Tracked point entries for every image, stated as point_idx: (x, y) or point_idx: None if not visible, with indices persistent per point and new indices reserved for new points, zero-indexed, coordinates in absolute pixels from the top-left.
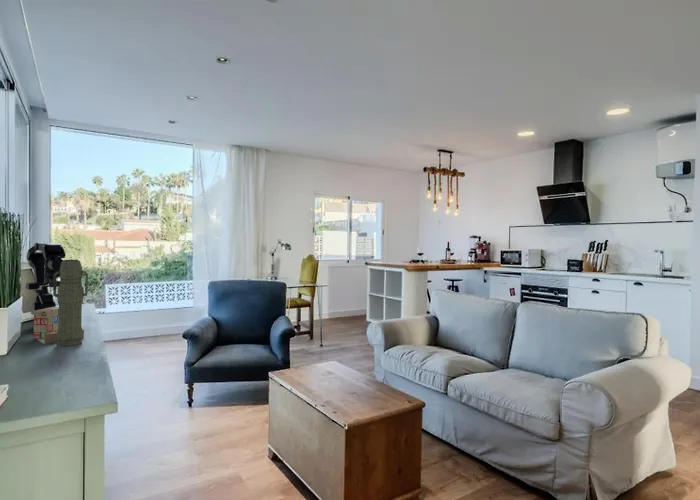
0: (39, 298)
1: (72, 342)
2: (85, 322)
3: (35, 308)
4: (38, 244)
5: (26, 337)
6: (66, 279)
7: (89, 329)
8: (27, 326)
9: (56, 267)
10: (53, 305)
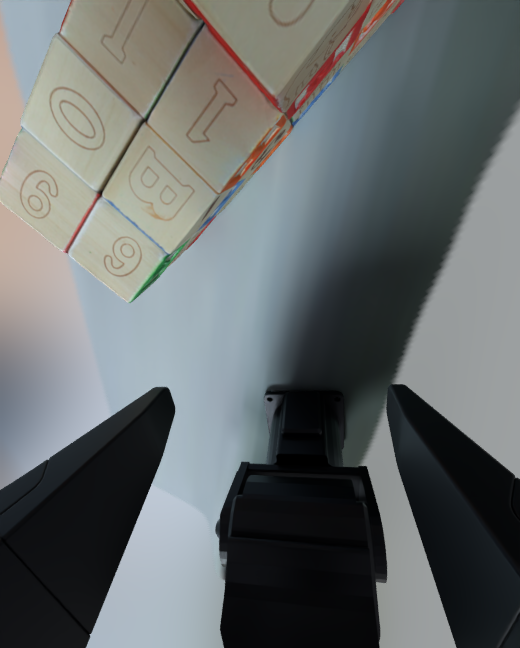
0: (351, 613)
1: None
2: (112, 393)
3: (369, 504)
4: None
5: (513, 70)
6: None
7: None
8: (363, 450)
9: None
10: (237, 498)
